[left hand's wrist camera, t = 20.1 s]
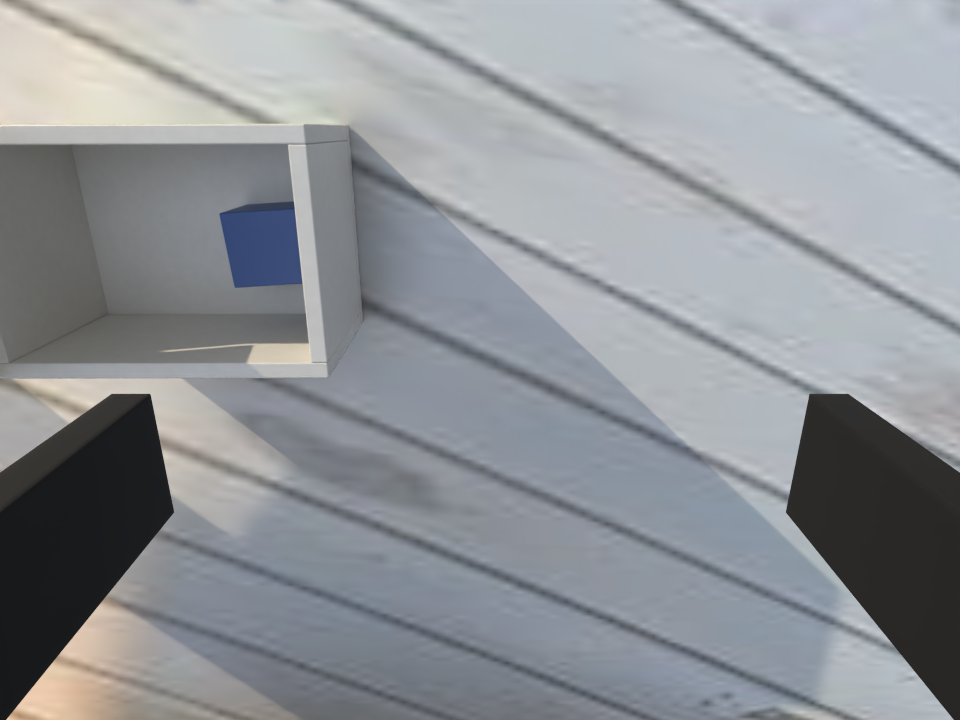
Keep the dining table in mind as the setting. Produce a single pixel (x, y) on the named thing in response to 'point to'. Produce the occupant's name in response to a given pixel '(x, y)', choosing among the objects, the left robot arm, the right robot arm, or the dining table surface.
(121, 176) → the chest
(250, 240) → the block
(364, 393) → the dining table surface
